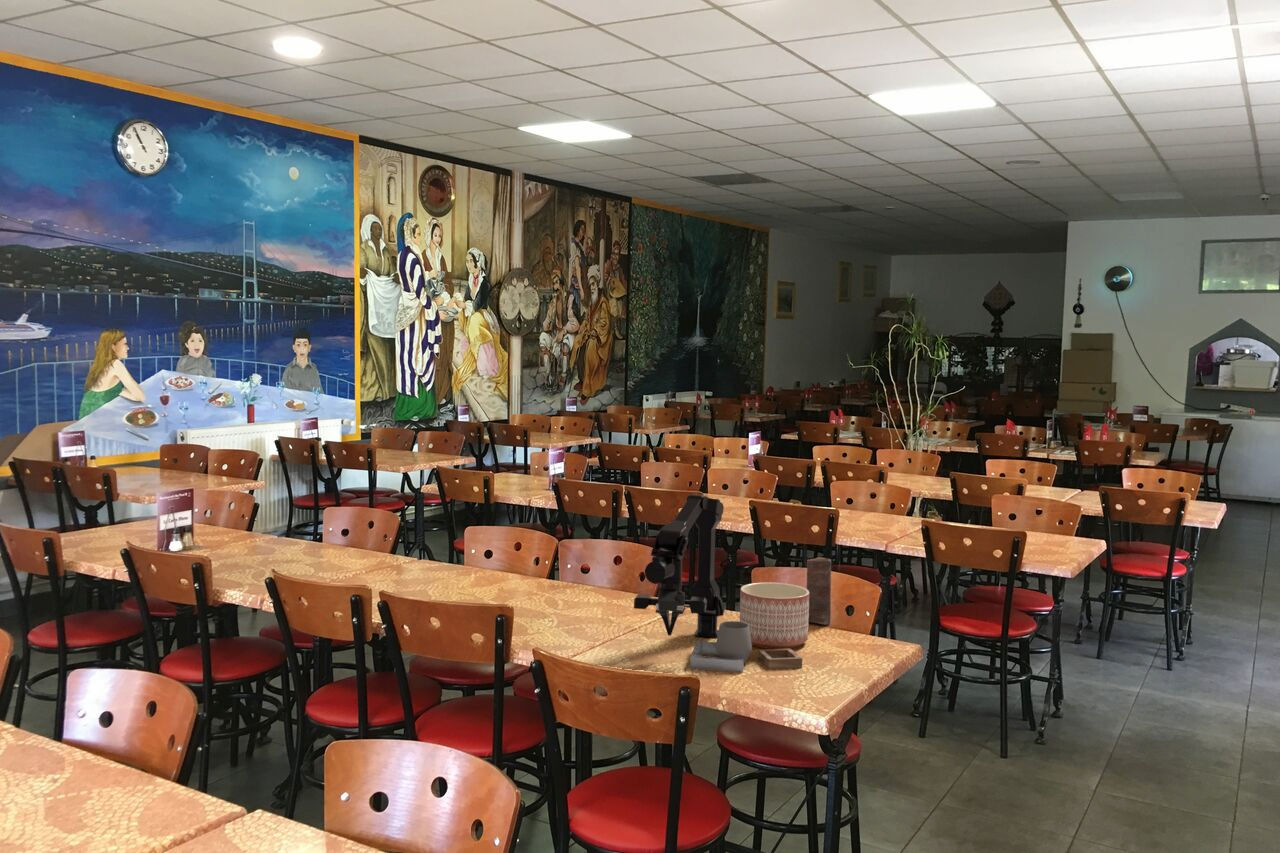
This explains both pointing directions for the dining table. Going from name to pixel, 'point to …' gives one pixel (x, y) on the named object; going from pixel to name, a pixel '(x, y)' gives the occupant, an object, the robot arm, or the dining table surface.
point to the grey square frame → (713, 659)
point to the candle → (819, 590)
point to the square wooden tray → (779, 658)
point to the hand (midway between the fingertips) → (669, 635)
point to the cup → (734, 640)
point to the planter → (775, 614)
